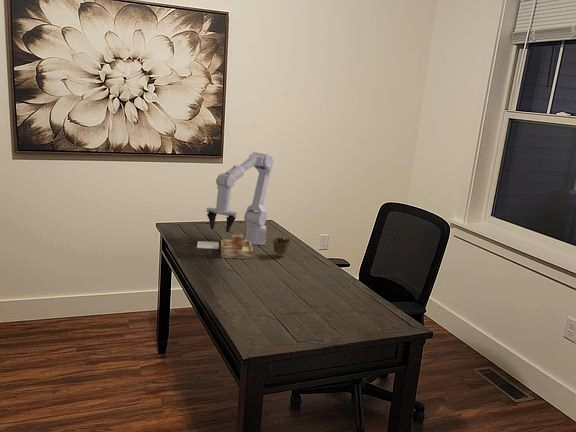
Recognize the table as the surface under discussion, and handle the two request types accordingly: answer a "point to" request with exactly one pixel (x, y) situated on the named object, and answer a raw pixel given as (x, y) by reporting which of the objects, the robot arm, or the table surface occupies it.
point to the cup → (281, 246)
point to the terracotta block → (237, 242)
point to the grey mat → (208, 245)
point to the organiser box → (229, 253)
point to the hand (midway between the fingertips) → (220, 230)
